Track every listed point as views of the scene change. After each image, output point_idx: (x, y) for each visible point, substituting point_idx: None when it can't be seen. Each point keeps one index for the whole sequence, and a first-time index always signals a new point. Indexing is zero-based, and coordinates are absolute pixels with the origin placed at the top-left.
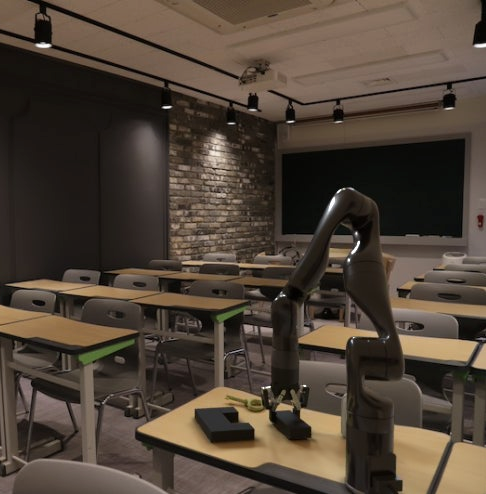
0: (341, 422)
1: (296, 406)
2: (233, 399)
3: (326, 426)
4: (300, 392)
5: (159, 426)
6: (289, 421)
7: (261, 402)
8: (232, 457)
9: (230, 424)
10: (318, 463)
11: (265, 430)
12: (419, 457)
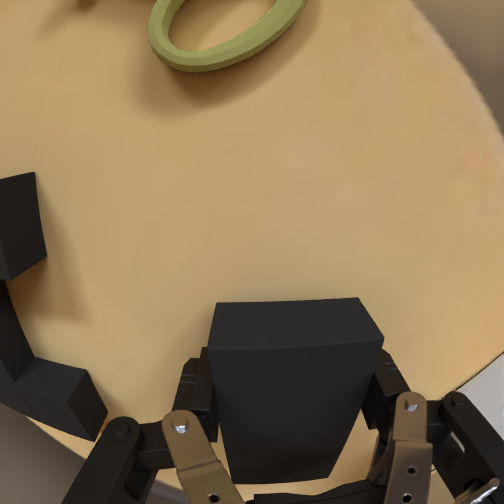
0: (453, 435)
1: (375, 454)
2: None
3: (460, 341)
4: (486, 462)
5: None
6: (265, 457)
7: None
8: (64, 439)
9: (14, 387)
10: (254, 491)
11: (161, 367)
12: None
